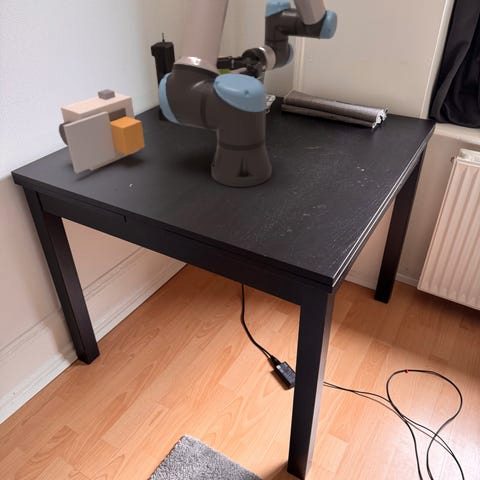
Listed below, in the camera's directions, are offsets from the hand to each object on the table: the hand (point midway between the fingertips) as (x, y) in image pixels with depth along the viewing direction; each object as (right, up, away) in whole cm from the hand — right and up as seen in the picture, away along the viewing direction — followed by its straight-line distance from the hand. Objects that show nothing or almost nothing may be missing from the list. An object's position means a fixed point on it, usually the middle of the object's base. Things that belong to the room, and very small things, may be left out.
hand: (211, 73), depth 124 cm
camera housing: (-29, -23, 0) cm, 37 cm away
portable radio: (-15, -5, +25) cm, 30 cm away
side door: (-25, -26, -8) cm, 37 cm away
